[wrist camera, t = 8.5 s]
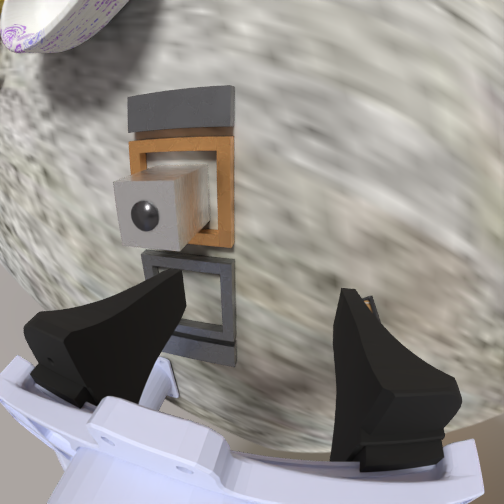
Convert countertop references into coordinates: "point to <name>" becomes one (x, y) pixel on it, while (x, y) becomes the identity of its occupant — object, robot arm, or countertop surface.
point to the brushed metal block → (163, 206)
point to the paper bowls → (53, 23)
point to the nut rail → (215, 115)
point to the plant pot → (1, 5)
